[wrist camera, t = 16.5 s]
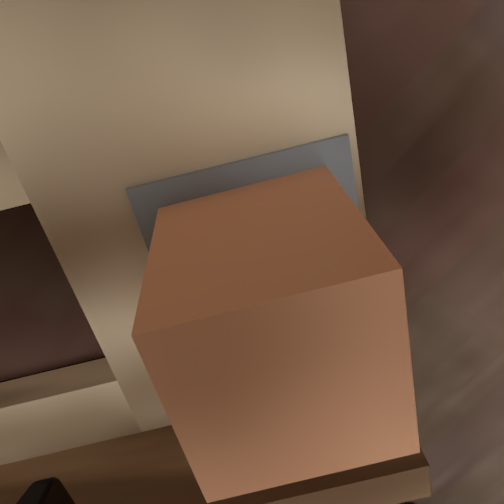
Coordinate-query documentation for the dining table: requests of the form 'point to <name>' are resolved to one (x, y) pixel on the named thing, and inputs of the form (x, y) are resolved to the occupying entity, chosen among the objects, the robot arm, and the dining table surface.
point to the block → (276, 335)
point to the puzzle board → (156, 208)
